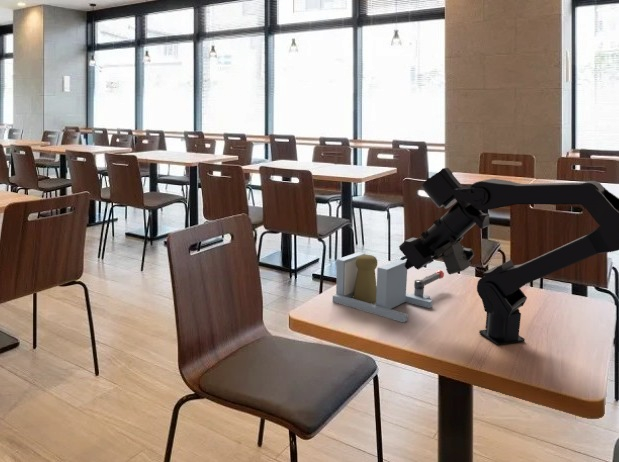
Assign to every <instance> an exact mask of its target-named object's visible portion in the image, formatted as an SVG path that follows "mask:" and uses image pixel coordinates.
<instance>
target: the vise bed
mask: <svg viewBox="0 0 619 462" xmlns="http://www.w3.org/2000/svg"><path fill="white" fill-rule="evenodd" d="M360 255H366V253H365V252H361V251H357V252H355V253H352V254H348V255H346V256H343V257H340V258H337V259H336V280H335V281H336V283H335V284H336V287H335V288H336V289H335V294H332V302H333V303H337V304H340V305H344V306H346V307H350V308H353V309H357V310H359V311H364V312H365V313H366V312H367V313H371V314H373V315H376V316H380V317H383V318H387V319H389V320H393V321H397V322H400V323H405V322H407V321H408V313H406V312H405V313H404V312H401V311H398V310H396V309H395V310H394V309H388V308H384V307H381V306H377V305H376V304H375V303H371V304H370V303H367V302H363V301H360V300H356V299H353V294H354V288H355V282H356V276H357V270H358V268H357V267H356V259H357V257H358V256H360ZM376 287H377V285H376ZM413 290H414V293H412V294H409V293H406V302H405V303H408V304H412V305H415V306H420V307H422V308H428V309H431V308H432V307H433V300H432V299H431V295H426V294H424V290H425V287H424V288H423V289H417V288H415V287H414V289H413Z"/></svg>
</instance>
